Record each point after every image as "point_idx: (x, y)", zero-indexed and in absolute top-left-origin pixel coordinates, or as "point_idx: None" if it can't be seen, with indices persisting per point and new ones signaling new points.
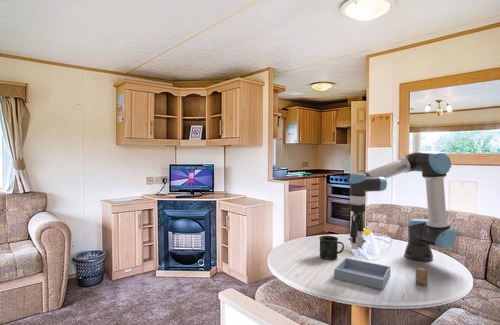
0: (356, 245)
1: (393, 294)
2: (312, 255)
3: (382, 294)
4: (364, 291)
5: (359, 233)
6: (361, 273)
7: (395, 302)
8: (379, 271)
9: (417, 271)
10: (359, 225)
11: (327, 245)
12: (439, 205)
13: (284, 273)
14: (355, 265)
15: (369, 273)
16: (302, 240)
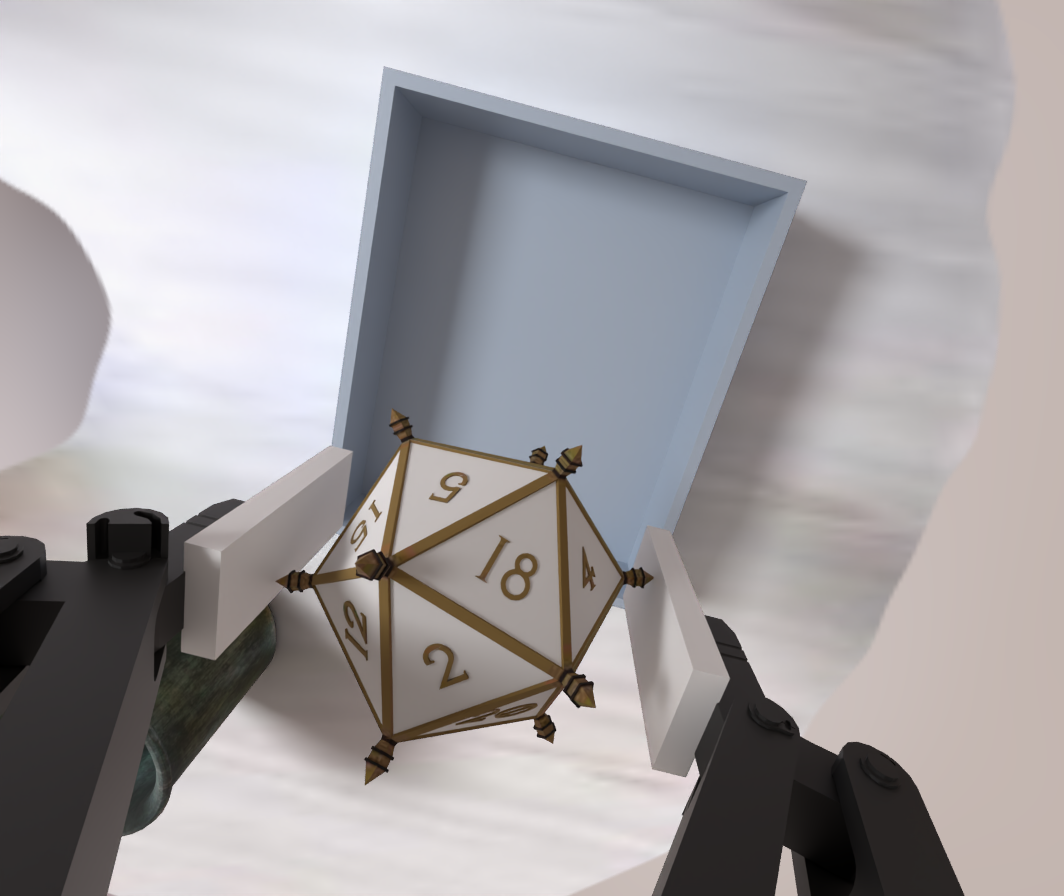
0: (682, 572)
1: (829, 106)
2: (233, 724)
3: (845, 208)
4: (813, 354)
5: (388, 615)
6: (475, 373)
7: (989, 101)
8: (401, 207)
9: None
10: (121, 770)
11: (198, 724)
12: None
13: (632, 845)
14: (364, 427)
15: (451, 304)
16: None
